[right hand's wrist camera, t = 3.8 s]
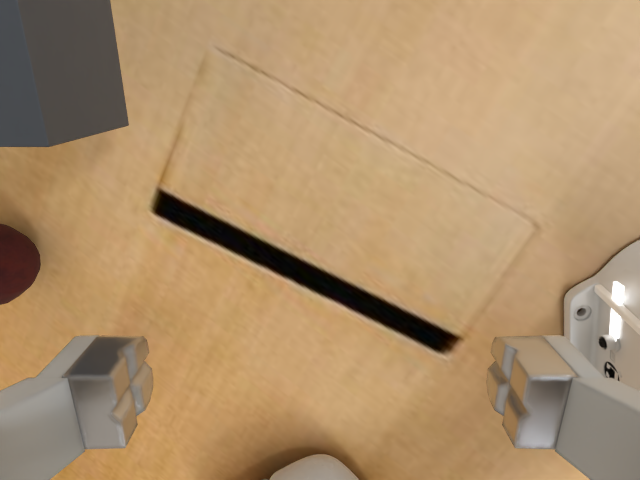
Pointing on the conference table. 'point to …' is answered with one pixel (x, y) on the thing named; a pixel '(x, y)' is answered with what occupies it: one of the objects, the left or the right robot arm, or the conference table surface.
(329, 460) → the white arched housing
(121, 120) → the bar
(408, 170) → the conference table surface
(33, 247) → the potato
